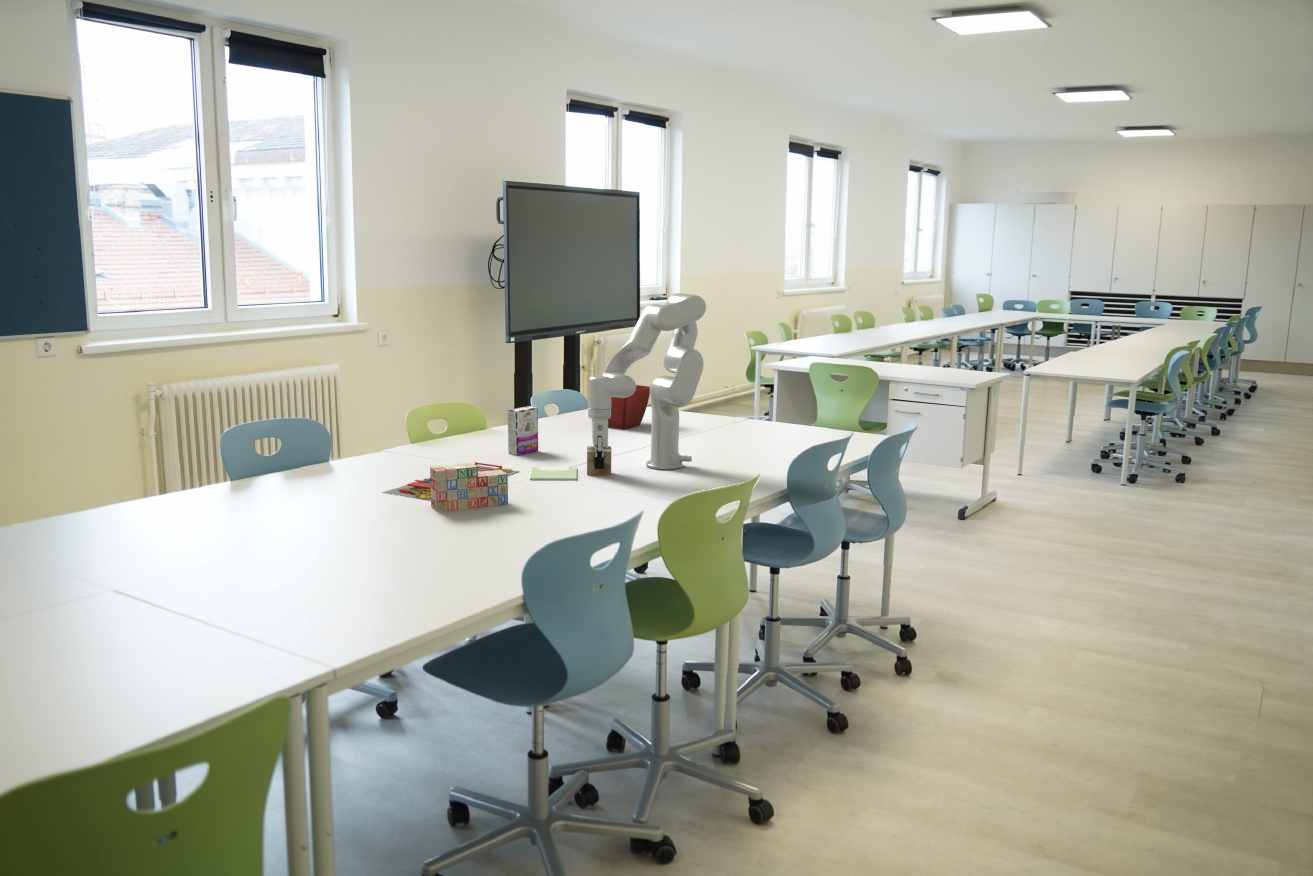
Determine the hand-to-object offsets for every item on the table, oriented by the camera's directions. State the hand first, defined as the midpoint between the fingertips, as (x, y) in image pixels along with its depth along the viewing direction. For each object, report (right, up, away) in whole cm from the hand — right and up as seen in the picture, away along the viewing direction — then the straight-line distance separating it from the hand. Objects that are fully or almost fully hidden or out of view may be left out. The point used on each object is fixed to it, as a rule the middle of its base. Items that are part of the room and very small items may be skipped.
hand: (599, 466), depth 329 cm
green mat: (-15, -3, -2) cm, 15 cm away
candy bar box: (-30, +4, +32) cm, 44 cm away
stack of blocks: (-35, -10, -42) cm, 56 cm away
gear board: (-45, -5, -14) cm, 48 cm away
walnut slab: (0, -3, 0) cm, 3 cm away
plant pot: (+4, +14, +88) cm, 90 cm away
